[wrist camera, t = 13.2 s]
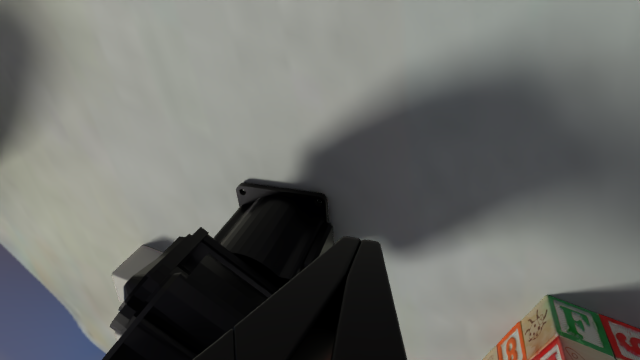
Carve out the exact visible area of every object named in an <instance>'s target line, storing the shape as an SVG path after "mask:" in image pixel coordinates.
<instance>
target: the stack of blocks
mask: <svg viewBox="0 0 640 360" xmlns="http://www.w3.org/2000/svg"><path fill="white" fill-rule="evenodd" d="M483 360H640V329H638V328H636V327H633V326H630V325H628V324H625V323H622V322H620V321H617V320H614V319H612V318H609V317H606V316H604V315H601V314H597V313H594V312H591V311H589V310H586V309H583V308H581V307H578V306H576V305H573V304H570V303H568V302H565V301H562V300H560V299H557V298H555V297H552V296H550V295H546V296H545V297H544V298H543V299H542V300H541V301H540V302H539V303H538V304H537V305H536V306H535V307H534V308H533V309H532V310H531V311H530V312H529V313H528V314H527V315H526V316H525V317H524V318H523V320H522V321H520V322H518V323H517V324H516V325H515V326H514V327H513V328H512V329H511V330H510V331H509V332H508V333H507V335H506V336H505V337H504V338H503V339H502V340H501V341H500V342H499V343H498V344H497V345H496V346H495V347H494V348H493V349H492V350H491V351H490V352H489V353H488V354H487V355H486V356H485V357H484V358H483Z"/></svg>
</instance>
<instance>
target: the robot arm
mask: <svg viewBox="0 0 640 360" xmlns="http://www.w3.org/2000/svg"><path fill="white" fill-rule="evenodd" d="M243 189H244V190H245V191H246V192H244V191H243ZM236 192H237V197H238V202H239V206H240V208H239V209H238V210H237V211H236V212H235V214H234V215H233V216H232V217H231V218H230V219H229V221H228V222H227V223H226V224H225V225H224V226H223V228H222V229H221V230H220V231H219V232H218V233H217V235H216V236H215V237H214V238H212V237H211V236H209V235H208V232H207V231H206V230H204V229H203V228H202V227H200V228H199V229H198V230H197V231H196V232H195V233H194V234H193V235H190V234H189V235H187V236H186V237H178V238H177V240H176V241H175V242H174V243H173V244H172V245H171V246H170V247H169V248H168V249H167V250H166V251H165V252H164V253H163V254H161V255H160V256H159V257H158V258H157V259H155V260H154V261H153V262H151V263H150V264H148V265H147V266H146V267H144V268H143V269H142V270H140V271H139V272H137V273H136V274H135V275H133V276H132V277H131V278H130V279H129V280H128V281H127V282H126V284H125V285H124V302H123V303H122V304H121V306H120V307H119V311H120V312H119V313H118V314H117V316H116V317H115V318H114V320H113V321H112V323H111V325H110V327H111V328H112V329H113V330H115V331H116V332H118V333H119V334H122V336H121V337H120V338H119V340H118V341H117V342H116V343H115V344H114V346H113V347H112V348H111V349H110V350H109V352H108V353H107V354H106V355H105V357H104V358H103V359H102V360H407V357H406V352H405V348H404V344H403V340H402V335H401V331H400V327H399V322H398V318H397V314H396V310H395V305H394V301H393V297H392V292H391V288H390V284H389V280H388V275H387V271H386V267H385V262H384V258H383V254H382V250H381V245H380V243H379V242H377V241H372V240H366V239H364V240H362V241H361V240H360V239H359V238H354V237H348V236H344V237H342V238H341V239H340V240H339V241H337V242H336V243H335V244H334V241H333V226H332V225H331V223H329V219H328V200H327V197H326V196H325V195H324V194H322V193H316V192H309V191H301V190H294V189H286V188H279V187H271V186H264V185H256V184H249V183H241V184H240V185H239V186H238V187H237V188H236ZM317 199H318V200H320V201H321V203H320V202H318V201H317Z"/></svg>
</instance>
